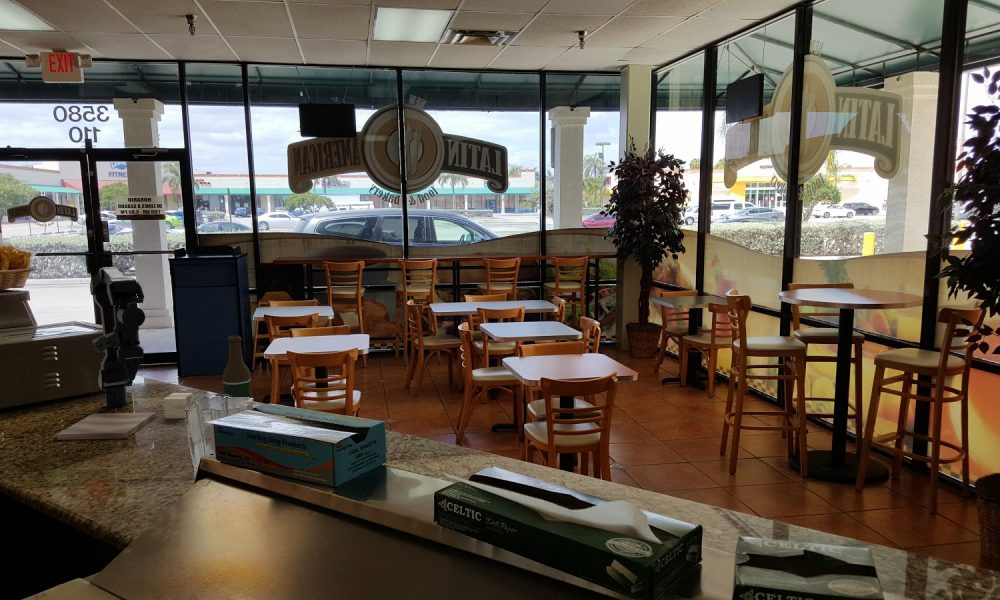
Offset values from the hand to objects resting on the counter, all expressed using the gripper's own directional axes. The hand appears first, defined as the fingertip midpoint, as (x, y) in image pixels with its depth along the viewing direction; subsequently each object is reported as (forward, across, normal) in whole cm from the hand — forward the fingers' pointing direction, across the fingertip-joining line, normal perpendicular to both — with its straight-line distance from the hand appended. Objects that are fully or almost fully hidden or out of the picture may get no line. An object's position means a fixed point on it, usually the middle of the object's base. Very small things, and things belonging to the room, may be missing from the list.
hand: (130, 376), depth 193 cm
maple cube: (+14, -1, +12) cm, 18 cm away
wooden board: (+14, +1, -6) cm, 15 cm away
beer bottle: (+14, +10, +27) cm, 32 cm away
